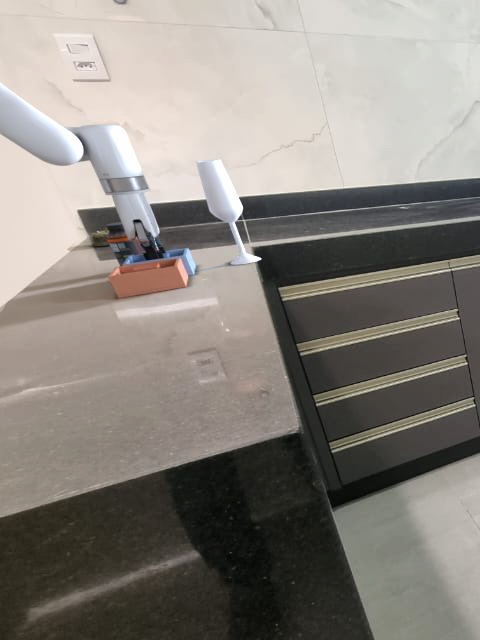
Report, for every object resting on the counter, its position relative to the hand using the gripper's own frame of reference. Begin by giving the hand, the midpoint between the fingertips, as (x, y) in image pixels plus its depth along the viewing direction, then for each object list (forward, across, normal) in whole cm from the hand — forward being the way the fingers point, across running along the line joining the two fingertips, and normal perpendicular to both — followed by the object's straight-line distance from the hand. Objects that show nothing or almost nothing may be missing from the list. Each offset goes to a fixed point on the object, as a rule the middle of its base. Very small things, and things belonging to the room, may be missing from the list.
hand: (160, 266), depth 124 cm
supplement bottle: (+2, -12, -6) cm, 14 cm away
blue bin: (+2, 0, 0) cm, 2 cm away
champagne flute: (+2, -2, +16) cm, 16 cm away
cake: (+2, -62, -16) cm, 65 cm away
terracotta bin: (+2, +12, -1) cm, 12 cm away
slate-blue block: (+2, 0, 0) cm, 2 cm away
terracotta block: (+2, +12, -1) cm, 12 cm away
